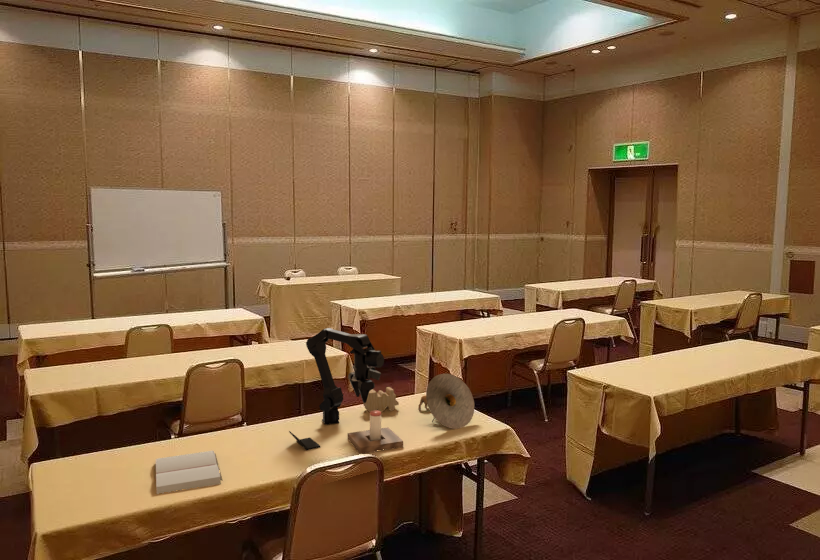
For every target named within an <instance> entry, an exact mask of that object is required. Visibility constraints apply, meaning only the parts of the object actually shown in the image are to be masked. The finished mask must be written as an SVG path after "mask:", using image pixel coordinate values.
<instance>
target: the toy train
mask: <svg viewBox="0 0 820 560" xmlns="http://www.w3.org/2000/svg"><path fill="white" fill-rule="evenodd" d="M396 398H397V395H396V394H395V389H393V388H392V387H391V386H387V387H386V388H385V392H384V391H383V390H380V389H379V390H378V391H376V390H375V389H374V388H373V389H372V390H370V391H369V394H368V397H367V401H366V403H363V402H362V403H363V404H362V405H363V406H364V408H365V410H366V411H368V412H369V413H370V411H373V410H378V411H381V413H382V412H385V410H386V409H388V410H389V411H394V410H395V408H396V406H399V404H400V403H399V401H398V400H397V399H396Z"/></svg>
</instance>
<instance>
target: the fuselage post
mask: <svg viewBox="0 0 820 560" xmlns="http://www.w3.org/2000/svg"><path fill="white" fill-rule="evenodd" d="M381 428H382V412H381V411H379V410H378V409H377V410H373V411H370V412H369V430H370V441H376V440H381Z"/></svg>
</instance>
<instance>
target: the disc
mask: <svg viewBox="0 0 820 560" xmlns="http://www.w3.org/2000/svg"><path fill="white" fill-rule="evenodd" d="M425 392H426V393H425V395H426V400H427V408H428V409H429V410H425V411H422V412H421V414H423V413H429V412H430V413H431V414H432V416H433V420H432V421H431V422H432V423H433V422H434V421H435V420H436V421H437V422H438V423H440V424H441V425H442V426H444V427H447V428H449V429H454V430H455V429H457V430H458V429H462V428H464V427H466V426H467V425H468V424H470V423H471V421H472V419H473V417H474V414H475V400H474V397H473V394H472V392H471V390H470V387H468V385H467V384H466V383H465V382H464V381H463V380H462V379H461V378H460V377H458V376H455V375H454V374H451V373H440V374H437V375H435V376H434V377H433V378H432V379H431V380H430V381H429V382H428V385H427V386H426V391H425Z"/></svg>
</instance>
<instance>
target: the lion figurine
mask: <svg viewBox="0 0 820 560" xmlns="http://www.w3.org/2000/svg"><path fill="white" fill-rule="evenodd" d="M423 403H424V408H425V411H428V410H429V407H428V406H427V400H426V394H425V395H422V396H421V397H420V400H419V405H418V411H422V406H423Z"/></svg>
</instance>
